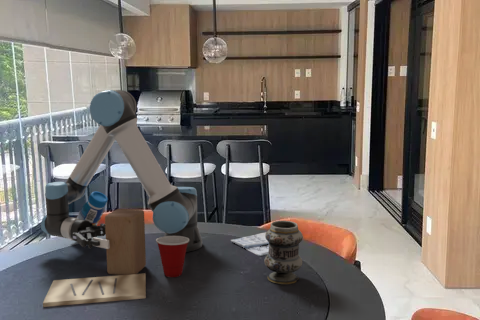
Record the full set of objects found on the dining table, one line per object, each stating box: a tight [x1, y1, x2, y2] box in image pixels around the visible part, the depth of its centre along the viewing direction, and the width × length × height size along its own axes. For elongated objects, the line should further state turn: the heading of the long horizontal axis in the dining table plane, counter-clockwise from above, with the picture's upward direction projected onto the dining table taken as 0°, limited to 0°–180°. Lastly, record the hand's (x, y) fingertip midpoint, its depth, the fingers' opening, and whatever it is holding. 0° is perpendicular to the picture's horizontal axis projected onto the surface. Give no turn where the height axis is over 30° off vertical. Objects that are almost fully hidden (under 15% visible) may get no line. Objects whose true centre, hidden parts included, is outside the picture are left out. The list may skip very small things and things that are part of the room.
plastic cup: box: [155, 235, 189, 278], centre depth 156 cm, size 11×11×12 cm
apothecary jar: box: [263, 220, 304, 285], centre depth 151 cm, size 12×12×18 cm
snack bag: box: [230, 231, 269, 257], centre depth 185 cm, size 19×20×2 cm
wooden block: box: [104, 208, 147, 276], centre depth 158 cm, size 10×10×20 cm
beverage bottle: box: [76, 191, 109, 226], centre depth 187 cm, size 8×8×20 cm
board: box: [42, 272, 147, 308], centre depth 144 cm, size 28×16×1 cm, turn 101°
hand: (123, 238), depth 158 cm, fingers open, 13 cm apart
